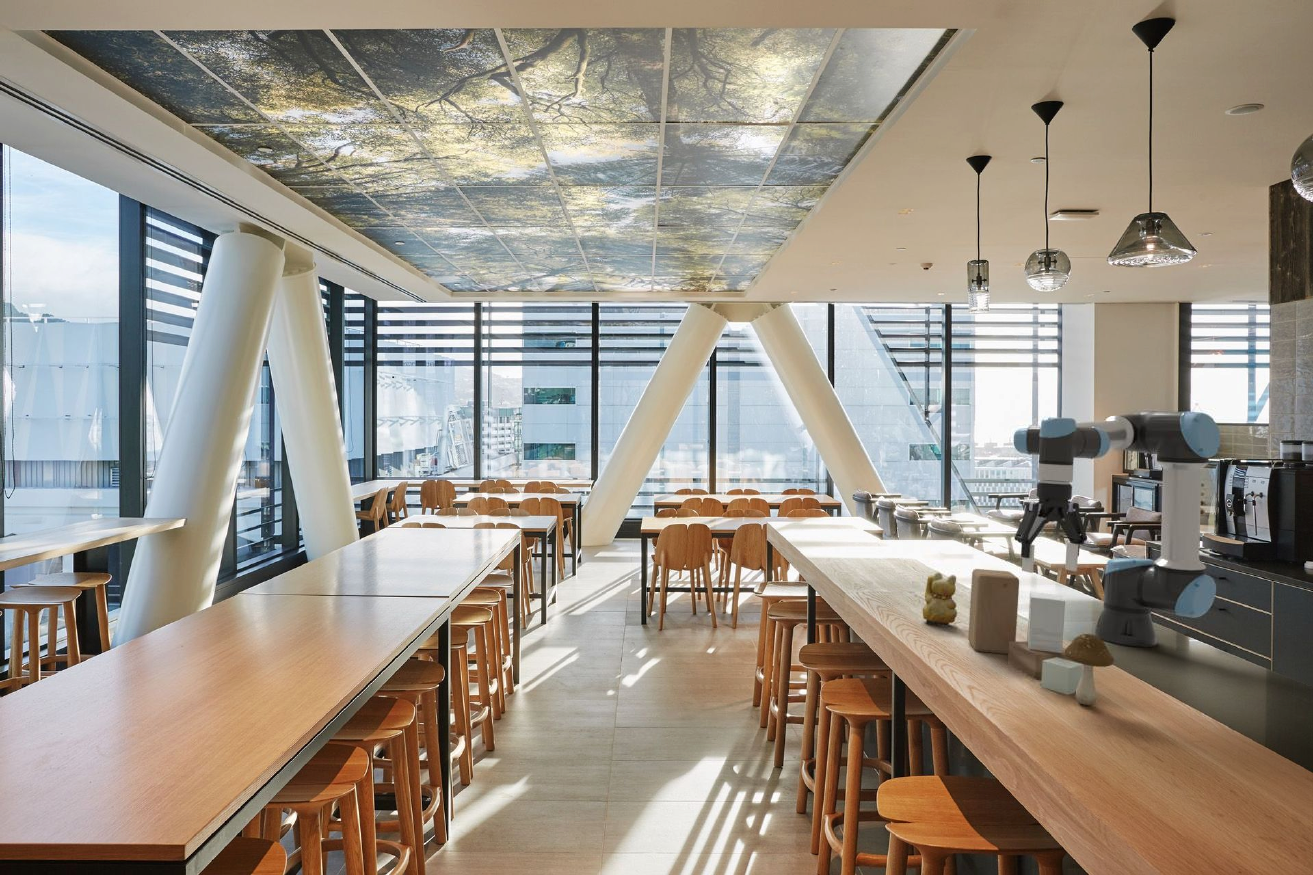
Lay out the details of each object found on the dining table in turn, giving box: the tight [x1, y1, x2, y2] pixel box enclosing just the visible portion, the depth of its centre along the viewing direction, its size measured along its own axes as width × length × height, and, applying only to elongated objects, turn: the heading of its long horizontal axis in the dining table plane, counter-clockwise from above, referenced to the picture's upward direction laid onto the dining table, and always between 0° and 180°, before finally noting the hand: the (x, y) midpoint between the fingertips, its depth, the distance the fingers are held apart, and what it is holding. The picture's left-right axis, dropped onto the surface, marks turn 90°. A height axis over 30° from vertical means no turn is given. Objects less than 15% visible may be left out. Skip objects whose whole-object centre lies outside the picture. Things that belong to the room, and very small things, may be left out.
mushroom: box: [1064, 633, 1115, 706], centre depth 170 cm, size 9×11×15 cm
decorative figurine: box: [922, 571, 958, 627], centre depth 235 cm, size 10×8×15 cm
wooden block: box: [967, 568, 1020, 655], centre depth 211 cm, size 10×10×20 cm
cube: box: [1040, 657, 1084, 696], centre depth 181 cm, size 6×6×6 cm
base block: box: [1007, 640, 1077, 680], centre depth 193 cm, size 11×11×6 cm
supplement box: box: [1026, 591, 1066, 654], centre depth 193 cm, size 7×7×13 cm
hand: (1049, 571), depth 193 cm, fingers open, 13 cm apart
